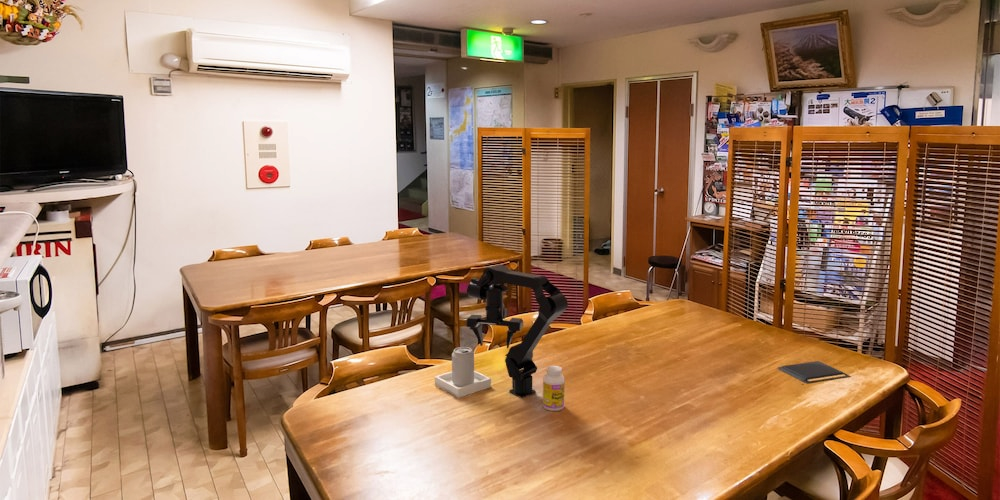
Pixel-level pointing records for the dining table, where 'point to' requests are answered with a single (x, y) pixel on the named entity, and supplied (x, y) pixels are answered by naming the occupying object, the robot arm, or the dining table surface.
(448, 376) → the tray
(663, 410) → the dining table surface
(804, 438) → the dining table surface
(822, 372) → the dark grey book
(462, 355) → the can
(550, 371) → the supplement bottle
